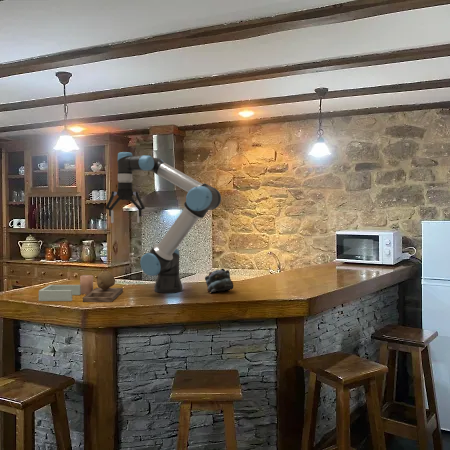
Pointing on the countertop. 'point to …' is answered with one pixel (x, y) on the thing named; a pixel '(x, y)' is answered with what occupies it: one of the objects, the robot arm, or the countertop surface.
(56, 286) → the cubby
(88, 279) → the brown rounded block
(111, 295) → the brown wooden tray
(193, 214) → the robot arm
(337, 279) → the countertop surface
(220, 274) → the grey animal figurine
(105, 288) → the natural sponge
